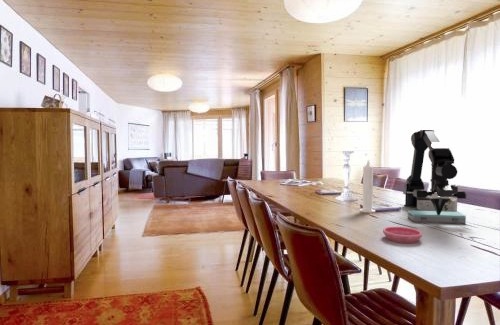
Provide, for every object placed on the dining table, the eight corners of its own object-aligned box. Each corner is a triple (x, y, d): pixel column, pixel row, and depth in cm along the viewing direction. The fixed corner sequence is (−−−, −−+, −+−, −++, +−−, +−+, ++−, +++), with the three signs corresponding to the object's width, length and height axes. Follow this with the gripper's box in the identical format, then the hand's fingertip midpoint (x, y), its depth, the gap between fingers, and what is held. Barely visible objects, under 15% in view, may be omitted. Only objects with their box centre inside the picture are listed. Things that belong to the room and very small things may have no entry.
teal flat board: (407, 217, 148) (407, 212, 148) (457, 219, 145) (457, 213, 145) (413, 222, 140) (413, 216, 140) (466, 224, 136) (466, 218, 136)
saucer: (388, 232, 124) (389, 224, 124) (425, 238, 117) (426, 229, 116) (377, 240, 115) (377, 231, 115) (417, 247, 107) (417, 237, 107)
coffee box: (454, 200, 154) (416, 197, 164) (454, 214, 155) (416, 210, 165) (457, 197, 162) (420, 194, 172) (457, 211, 162) (420, 207, 172)
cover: (407, 212, 148) (408, 210, 148) (457, 213, 145) (457, 211, 145) (413, 216, 140) (413, 214, 140) (465, 217, 137) (465, 215, 137)
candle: (376, 213, 158) (377, 160, 156) (360, 212, 159) (361, 160, 158) (373, 210, 165) (374, 159, 163) (358, 209, 166) (359, 159, 165)
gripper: (421, 178, 133) (420, 217, 133) (473, 179, 129) (472, 219, 130) (413, 176, 144) (412, 212, 144) (460, 177, 140) (459, 214, 141)
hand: (438, 214), depth 139 cm, fingers closed
